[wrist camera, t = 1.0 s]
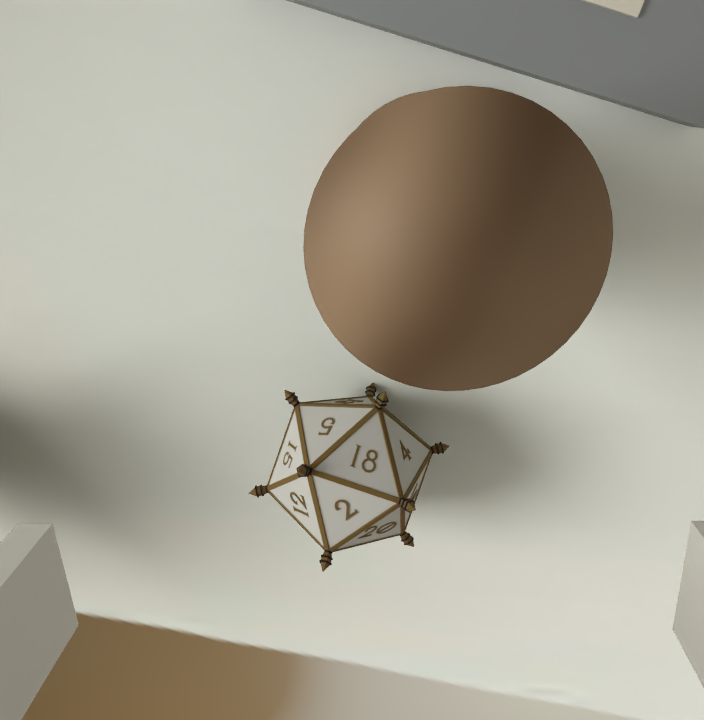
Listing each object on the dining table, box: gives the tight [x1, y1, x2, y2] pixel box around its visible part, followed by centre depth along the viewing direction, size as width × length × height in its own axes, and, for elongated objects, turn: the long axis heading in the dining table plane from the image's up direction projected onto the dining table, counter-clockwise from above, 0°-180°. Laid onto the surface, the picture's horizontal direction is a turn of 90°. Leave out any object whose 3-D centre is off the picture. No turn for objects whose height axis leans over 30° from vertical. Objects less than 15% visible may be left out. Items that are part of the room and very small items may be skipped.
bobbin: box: [304, 86, 613, 391], centre depth 25 cm, size 9×9×12 cm
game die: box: [249, 383, 449, 571], centre depth 31 cm, size 9×8×10 cm
